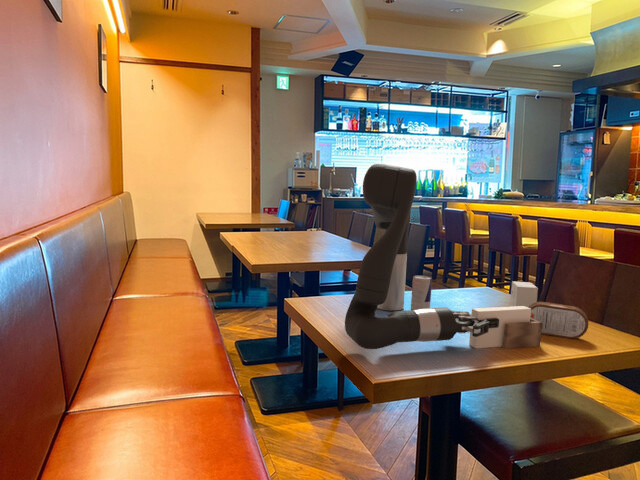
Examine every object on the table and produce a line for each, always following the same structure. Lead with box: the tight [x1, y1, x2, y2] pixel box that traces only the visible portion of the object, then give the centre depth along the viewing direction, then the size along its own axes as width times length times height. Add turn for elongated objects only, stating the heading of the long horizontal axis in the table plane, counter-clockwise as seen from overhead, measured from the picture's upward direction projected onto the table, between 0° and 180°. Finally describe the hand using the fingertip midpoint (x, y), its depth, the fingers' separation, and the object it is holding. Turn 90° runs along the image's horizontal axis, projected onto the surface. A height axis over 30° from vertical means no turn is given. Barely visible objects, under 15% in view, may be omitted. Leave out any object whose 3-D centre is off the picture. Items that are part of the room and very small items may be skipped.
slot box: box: [502, 318, 543, 350], centre depth 116 cm, size 10×6×6 cm, turn 107°
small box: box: [509, 280, 539, 307], centre depth 138 cm, size 8×6×10 cm
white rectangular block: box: [468, 306, 531, 349], centre depth 114 cm, size 15×3×9 cm, turn 107°
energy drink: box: [410, 275, 433, 310], centre depth 134 cm, size 5×5×12 cm
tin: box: [528, 301, 589, 340], centre depth 124 cm, size 15×3×8 cm, turn 64°
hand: (493, 320), depth 114 cm, fingers closed on white rectangular block, 2 cm apart
